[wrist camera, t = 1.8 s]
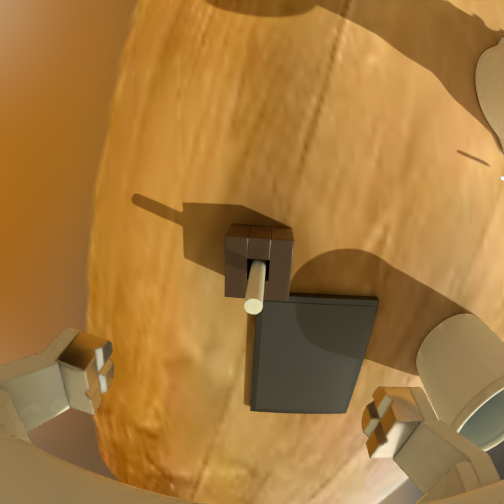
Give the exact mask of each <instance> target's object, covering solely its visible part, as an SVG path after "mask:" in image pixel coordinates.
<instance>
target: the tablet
mask: <svg viewBox="0 0 504 504" xmlns="http://www.w3.org/2000/svg"><path fill="white" fill-rule="evenodd" d="M378 302H379V300H378V298H377V297H366V296H342V295H321V294H303V293H289V298H288V301H278V300H263V307H262V310H261V311H260V312H259V313H258V314H256V328H255V344H254V360H253V376H252V392H251V407H250V411H258V412H274V413H302V414H340V413H346V411H347V409H348V406H349V403H350V400H351V397H352V394H353V391H354V388H355V385H356V382H357V378H358V375H359V372H360V369H361V366H362V362H363V359H364V355H365V352H366V348H367V345H368V341H369V338H370V334H371V330H372V326H373V322H374V318H375V314H376V310H377V306H378Z"/></svg>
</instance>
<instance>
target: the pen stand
mask: <svg viewBox="0 0 504 504" xmlns="http://www.w3.org/2000/svg"><path fill="white" fill-rule="evenodd" d="M293 247H294V238H293V232H292V228H288V227H273V226H272V227H271V226H257V225H252V226H251V225H241V224H231V226H230V228H229V230H228V233H227V235H226V238H225V297H235V298H245V297H246V292H247V286H248V281H249V275H250V270H251V264H252V263H250V259H260V260H269V264H266V269H265V282H264V295H263V300H278V301H288V298H289V288H290V279H291V269H292V258H293Z"/></svg>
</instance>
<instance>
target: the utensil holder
mask: <svg viewBox="0 0 504 504" xmlns="http://www.w3.org/2000/svg"><path fill="white" fill-rule="evenodd" d="M416 367H417V371H418V374H419V376H420V378H421V380H422V383H423V385H424V387H425V389H426V392H427V394H428V396H429V398H430V400H431V402H432V405H433V407H434V409H435V411H436V414H437V416H438V418H439V420H442V421H443V422H445V423H446V424H447V425H449V426H450V427H451V428H453V429H454V430H455V431H457V432H458V433H459V434H461V435H462V436H464V437H465V438H466V439H468V440H469V441H470V442H472V443H473V444H475V445H476V446H477V447H479V448H480V449H481V450H483V451H484V452H485V451H487V450H489V449H491V448H493V447H494V446H496V445H498V444H499V443H500V442H502V441H503V440H504V342H503V341H502V340H501V339H500V338H499V337H498V336H497V335H496V334H495V333H494V332H493V331H492V330H491V329H490V328H489V327H488V326H487V325H486V324H485V323H484V322H483V321H482V320H481V319H479V318H478V317H477V316H475V315H473V314H467V313H464V314H458V315H454V316H452V317H449V318H447V319H446V320H444V321H443V322H441V323H440V324H438V325H437V326H436V327H435V328H434V329H433V330H432V331H431V332H430V333H429V334H428V335H427V336H426V338H425V339H424V341H423V342H422V344H421V346H420V348H419V351H418V354H417V358H416Z"/></svg>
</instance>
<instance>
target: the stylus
mask: <svg viewBox="0 0 504 504" xmlns="http://www.w3.org/2000/svg"><path fill="white" fill-rule="evenodd" d="M265 269H266V260H260V259H252V264H251V270H250V275H249V281H248V286H247V292H246V297H245V302H244V308H245V310H246V311H247V312H248V313H250V314H258V313H259V312H260V311H261V310H262V307H263V295H264V282H265Z"/></svg>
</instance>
